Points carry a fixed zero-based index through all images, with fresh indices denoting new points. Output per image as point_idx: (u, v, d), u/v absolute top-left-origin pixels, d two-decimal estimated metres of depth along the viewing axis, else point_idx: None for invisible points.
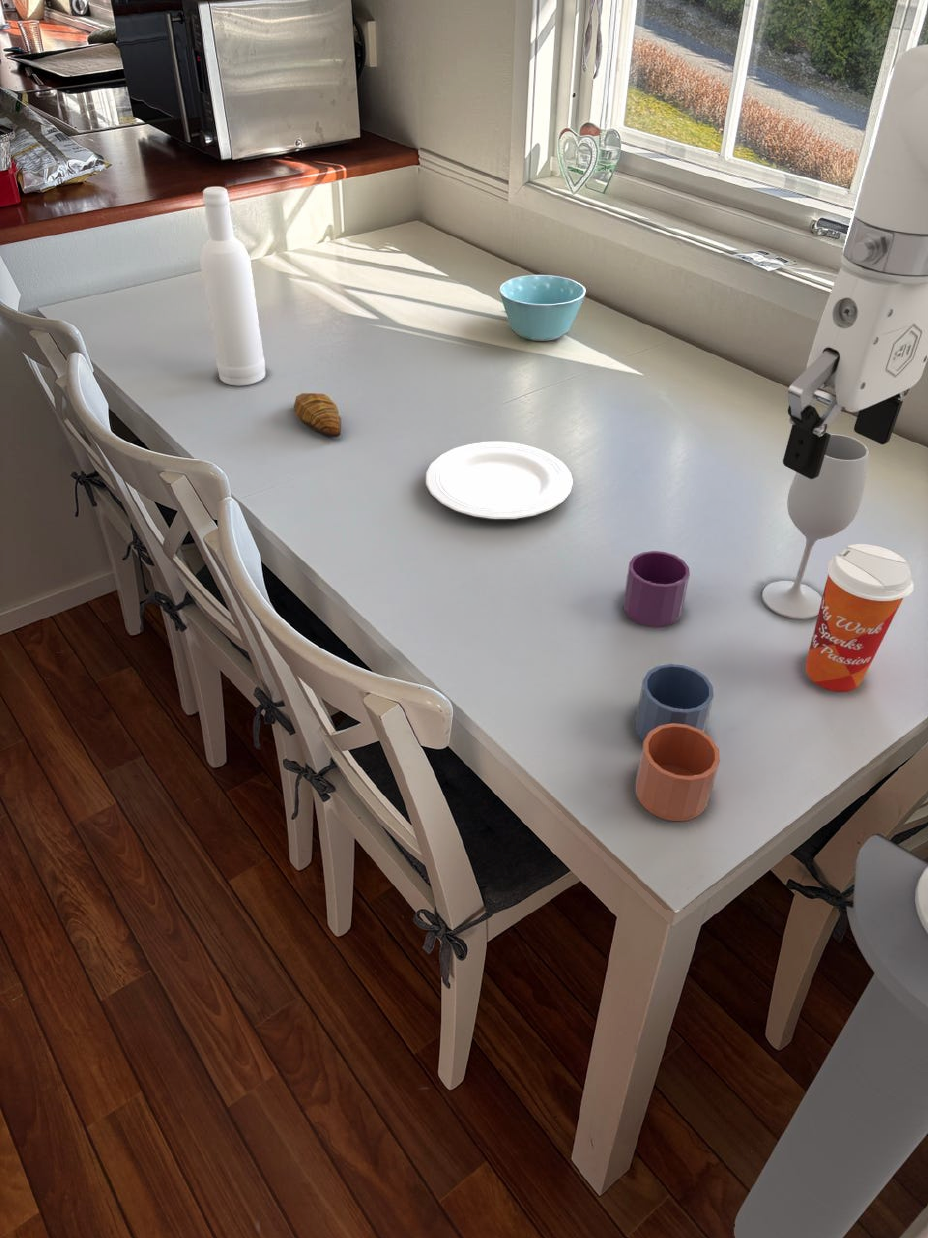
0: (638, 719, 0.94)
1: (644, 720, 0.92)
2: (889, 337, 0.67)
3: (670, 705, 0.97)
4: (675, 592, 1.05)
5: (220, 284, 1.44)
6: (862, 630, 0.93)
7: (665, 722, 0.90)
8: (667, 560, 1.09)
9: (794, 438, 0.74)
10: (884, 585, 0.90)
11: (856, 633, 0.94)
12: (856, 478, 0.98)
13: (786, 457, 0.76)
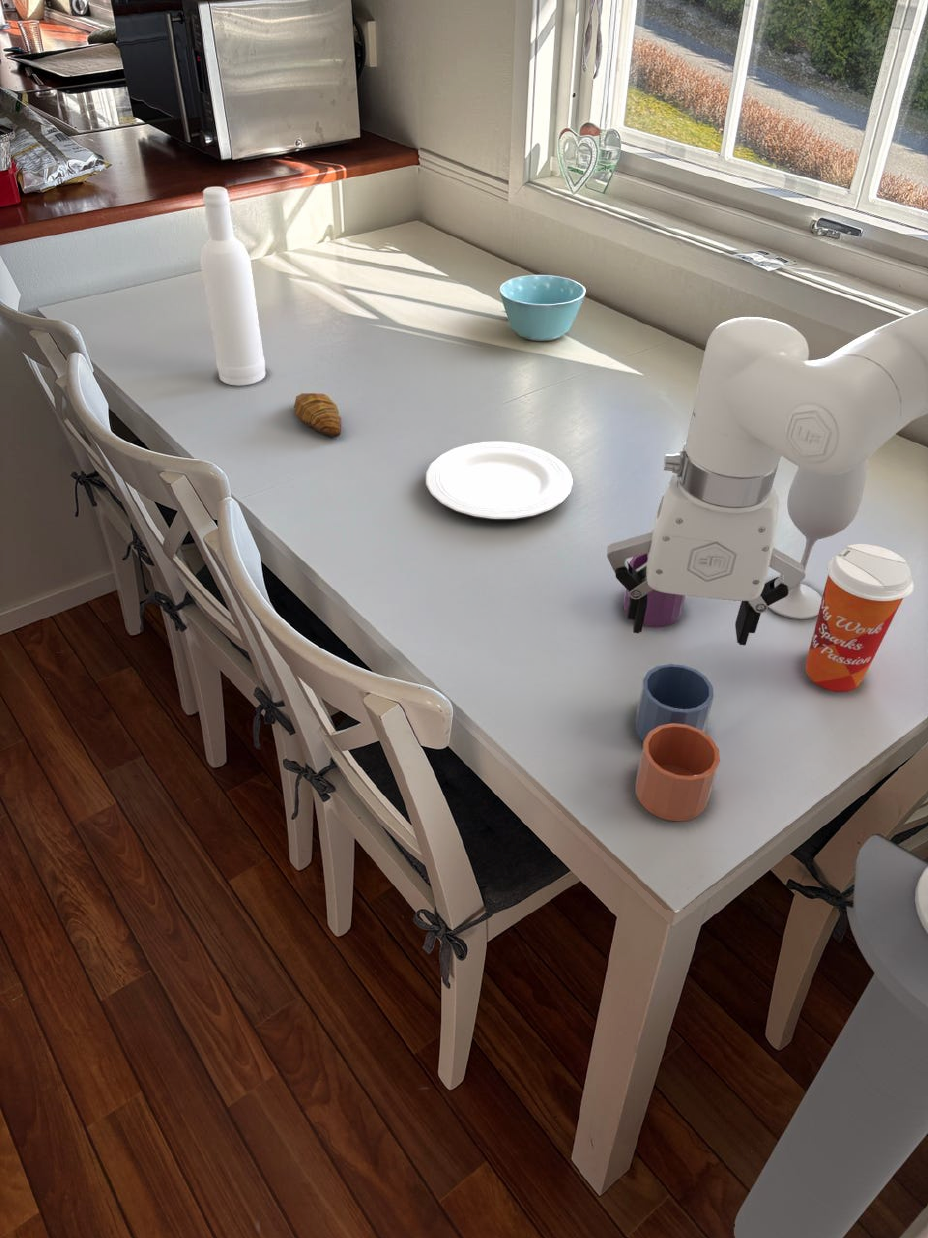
0: (638, 719, 0.94)
1: (644, 720, 0.92)
2: (684, 542, 0.78)
3: (670, 705, 0.97)
4: None
5: (220, 284, 1.44)
6: (862, 630, 0.93)
7: (665, 722, 0.90)
8: None
9: None
10: (884, 585, 0.90)
11: (856, 633, 0.94)
12: (856, 478, 0.98)
13: None
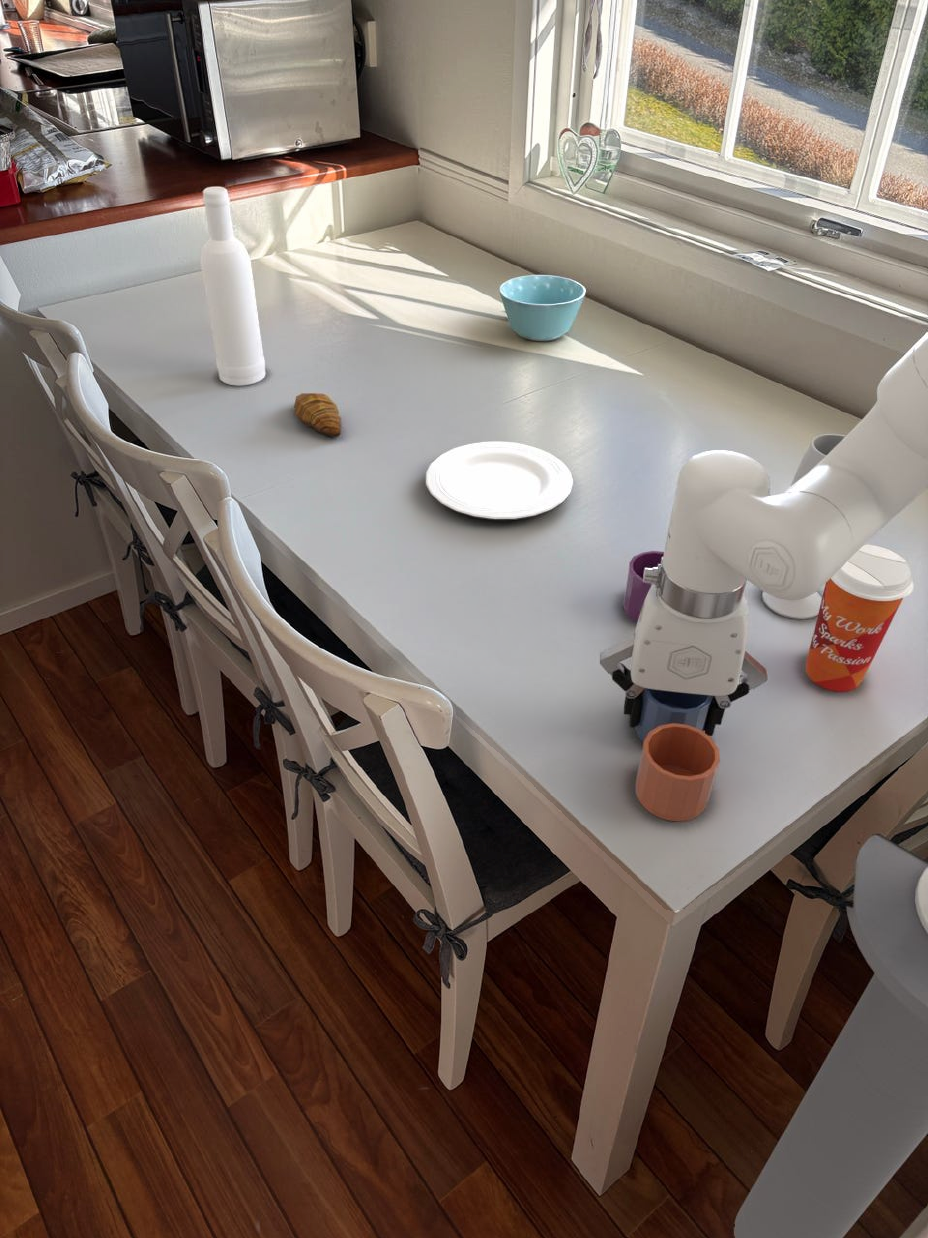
0: (638, 719, 0.94)
1: (644, 720, 0.92)
2: (664, 645, 0.85)
3: (670, 705, 0.97)
4: None
5: (220, 284, 1.44)
6: (862, 630, 0.93)
7: (665, 722, 0.90)
8: None
9: None
10: (883, 585, 0.90)
11: (856, 633, 0.94)
12: None
13: None
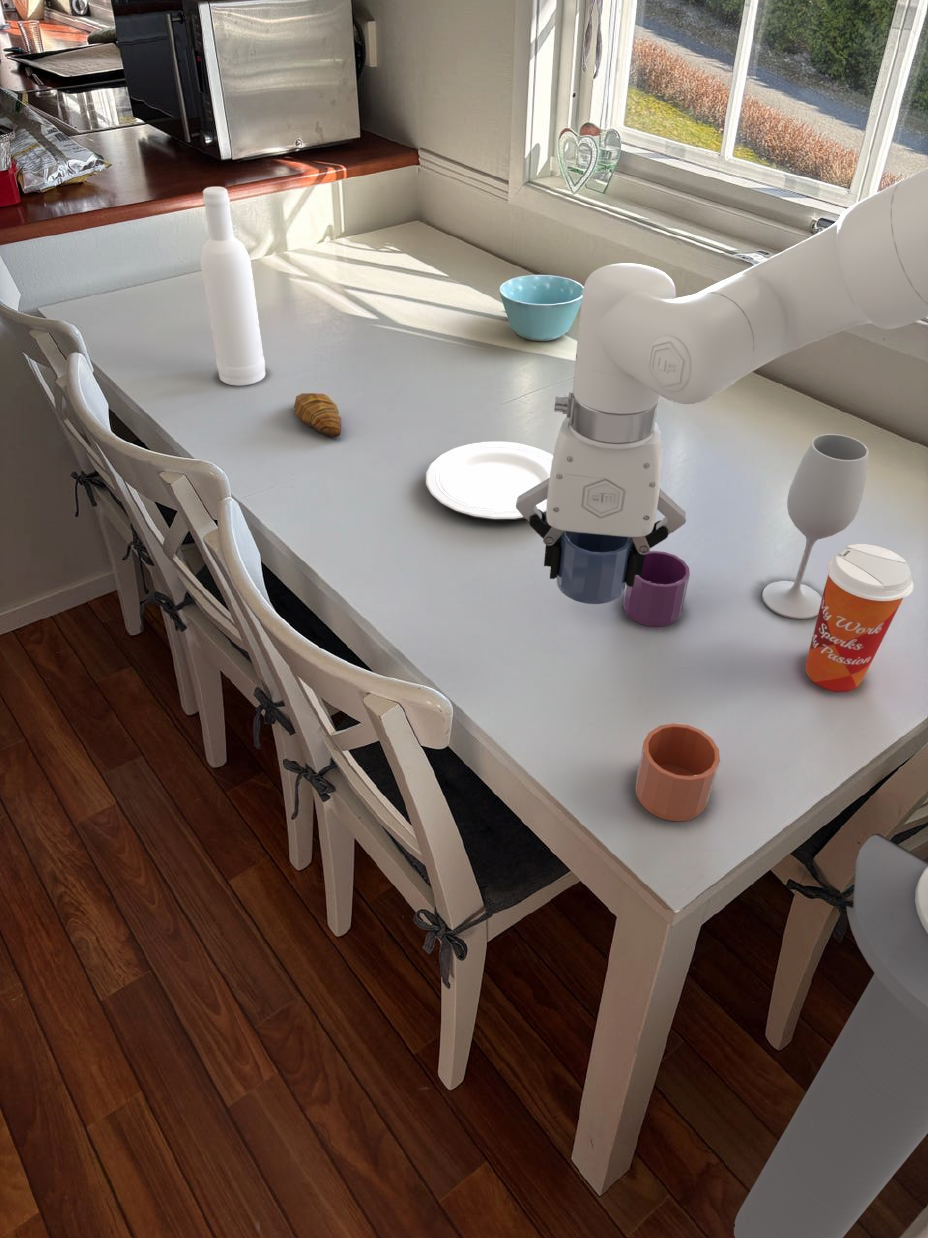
0: (558, 570, 0.92)
1: (563, 568, 0.90)
2: (576, 479, 0.83)
3: None
4: (675, 592, 1.05)
5: (220, 284, 1.44)
6: (862, 630, 0.93)
7: (582, 568, 0.88)
8: (667, 560, 1.09)
9: None
10: (883, 585, 0.90)
11: (856, 633, 0.94)
12: (856, 478, 0.98)
13: None
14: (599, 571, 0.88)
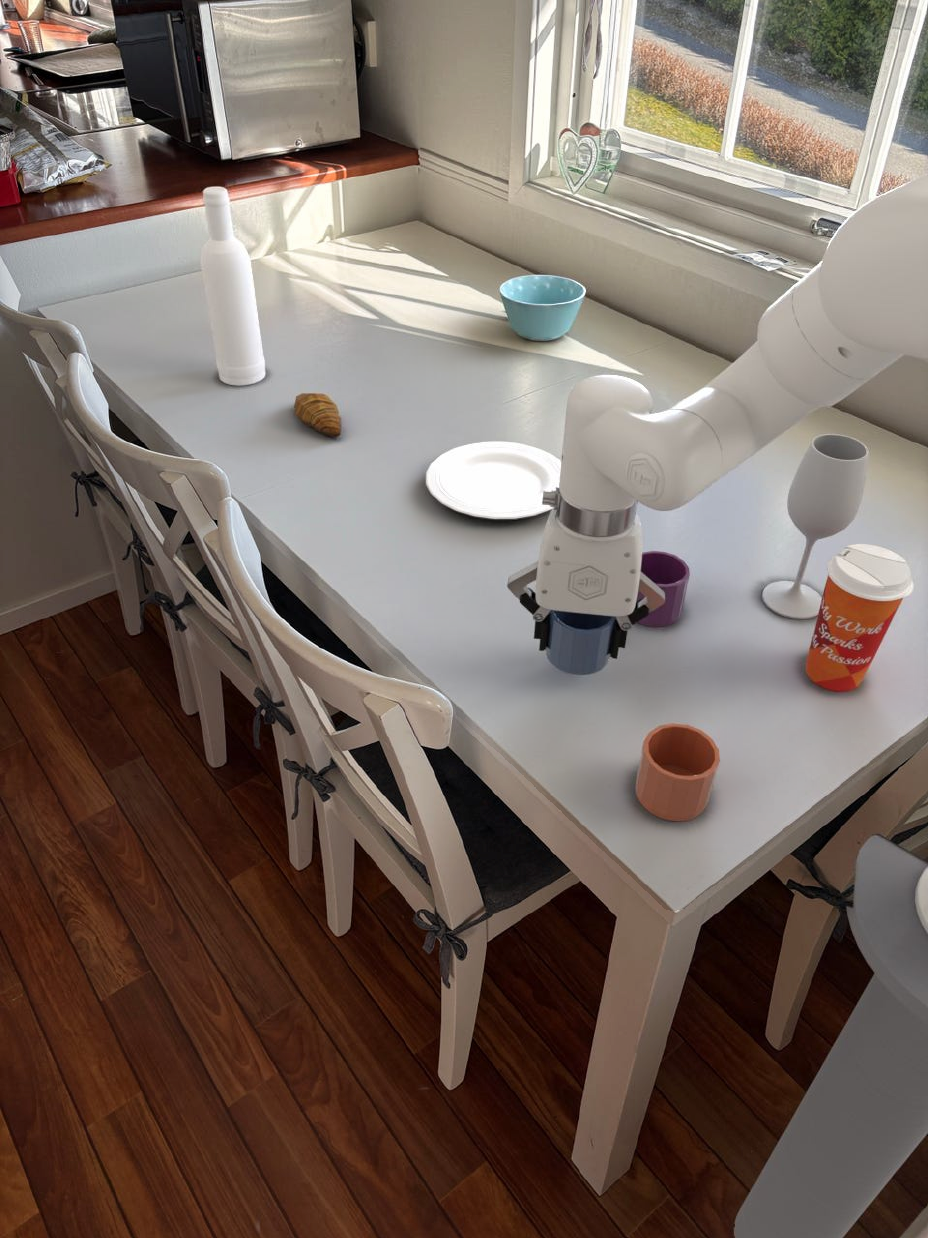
0: (547, 642, 0.98)
1: (551, 642, 0.97)
2: (563, 566, 0.89)
3: None
4: (675, 592, 1.05)
5: (220, 284, 1.44)
6: (862, 630, 0.93)
7: (569, 643, 0.95)
8: (667, 560, 1.09)
9: None
10: (883, 585, 0.90)
11: (856, 633, 0.94)
12: (856, 478, 0.98)
13: None
14: (585, 646, 0.95)
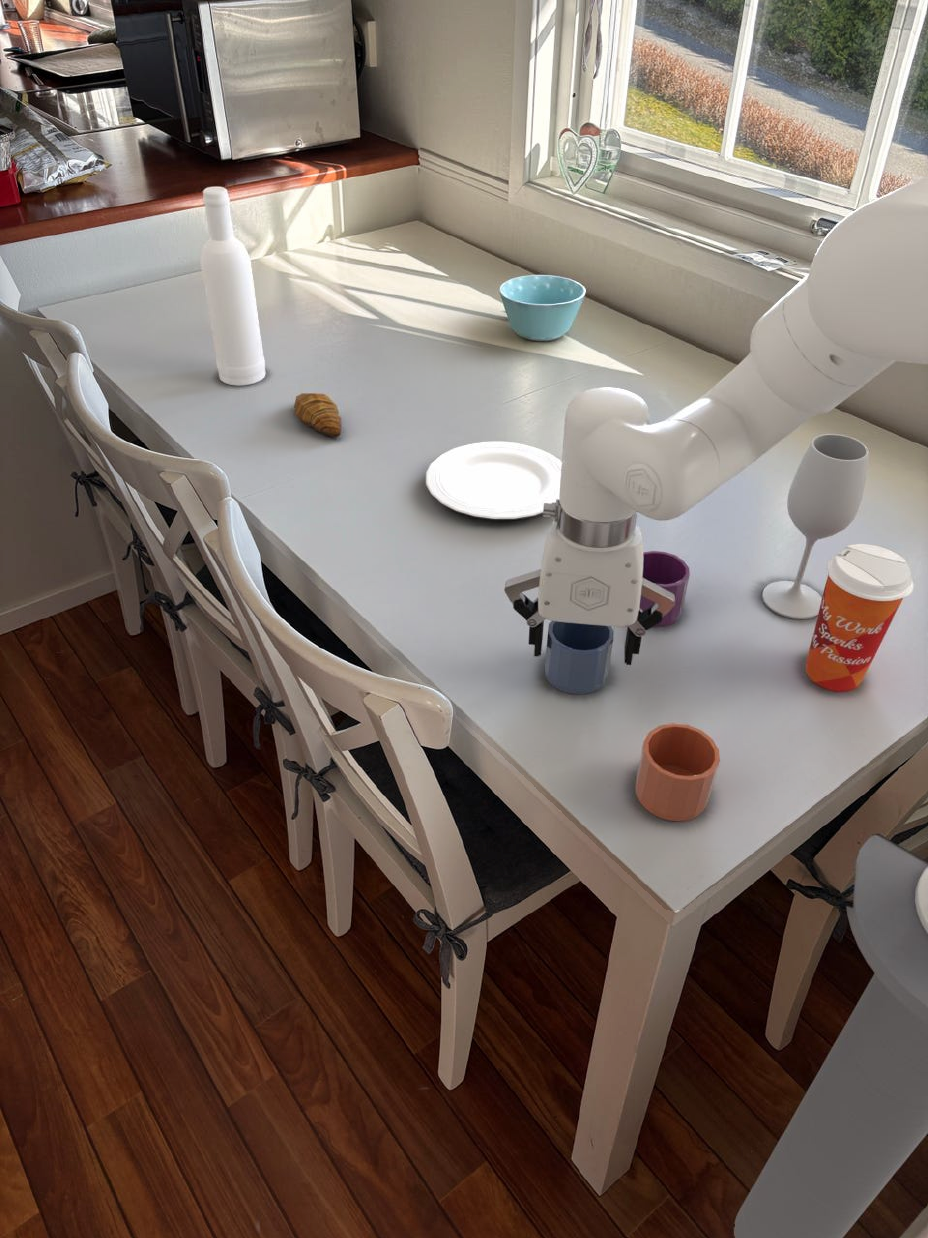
0: (546, 662, 1.00)
1: (550, 662, 0.99)
2: (564, 577, 0.90)
3: None
4: (675, 592, 1.05)
5: (220, 284, 1.44)
6: (862, 630, 0.93)
7: (567, 663, 0.97)
8: (667, 560, 1.09)
9: None
10: (883, 585, 0.90)
11: (856, 633, 0.94)
12: (856, 478, 0.98)
13: None
14: (583, 666, 0.96)
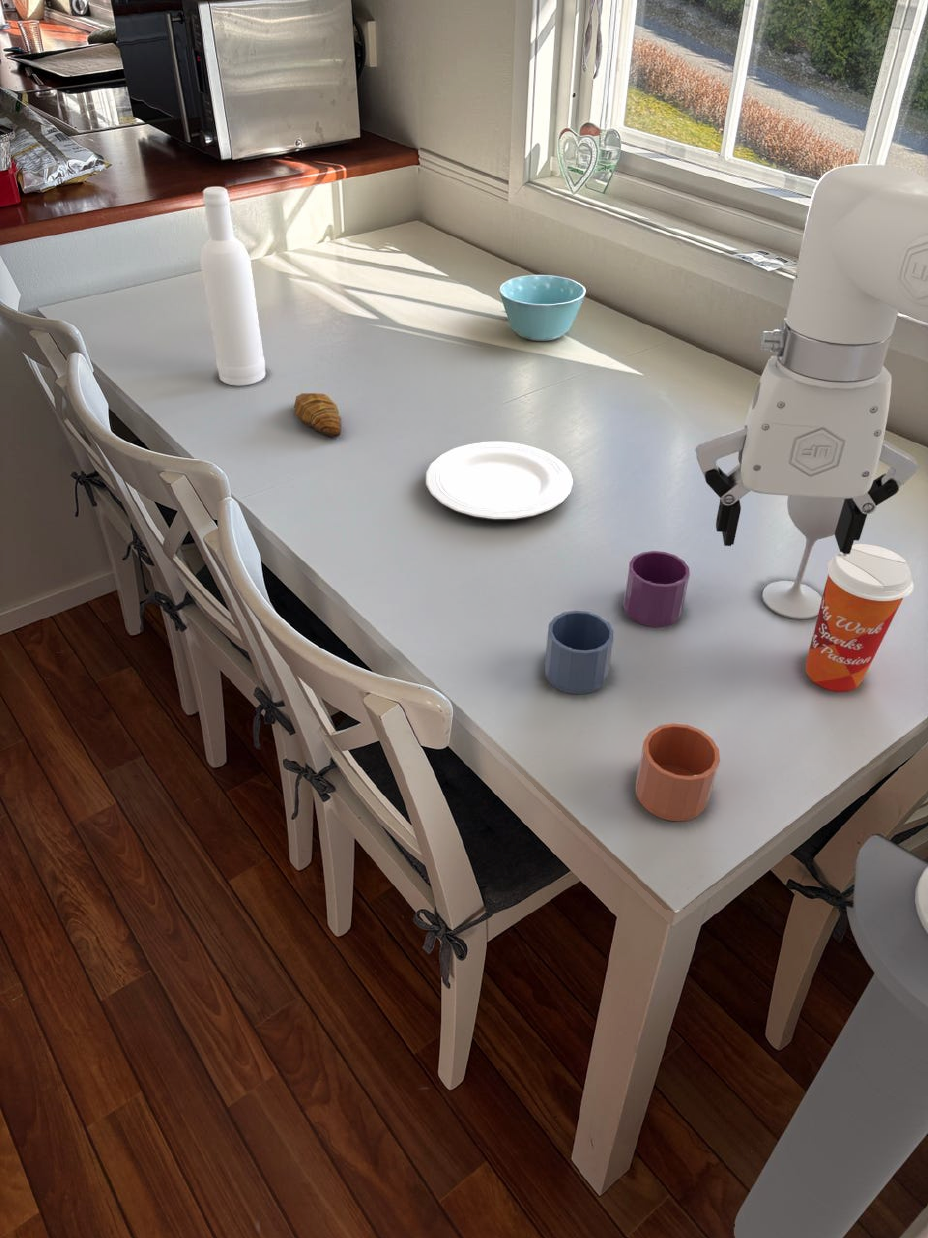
0: (546, 662, 1.00)
1: (550, 662, 0.99)
2: (786, 429, 0.70)
3: None
4: (675, 592, 1.05)
5: (220, 284, 1.44)
6: (862, 630, 0.93)
7: (567, 663, 0.97)
8: (667, 560, 1.09)
9: (720, 502, 0.79)
10: (883, 585, 0.90)
11: (856, 633, 0.94)
12: None
13: None
14: (583, 666, 0.96)
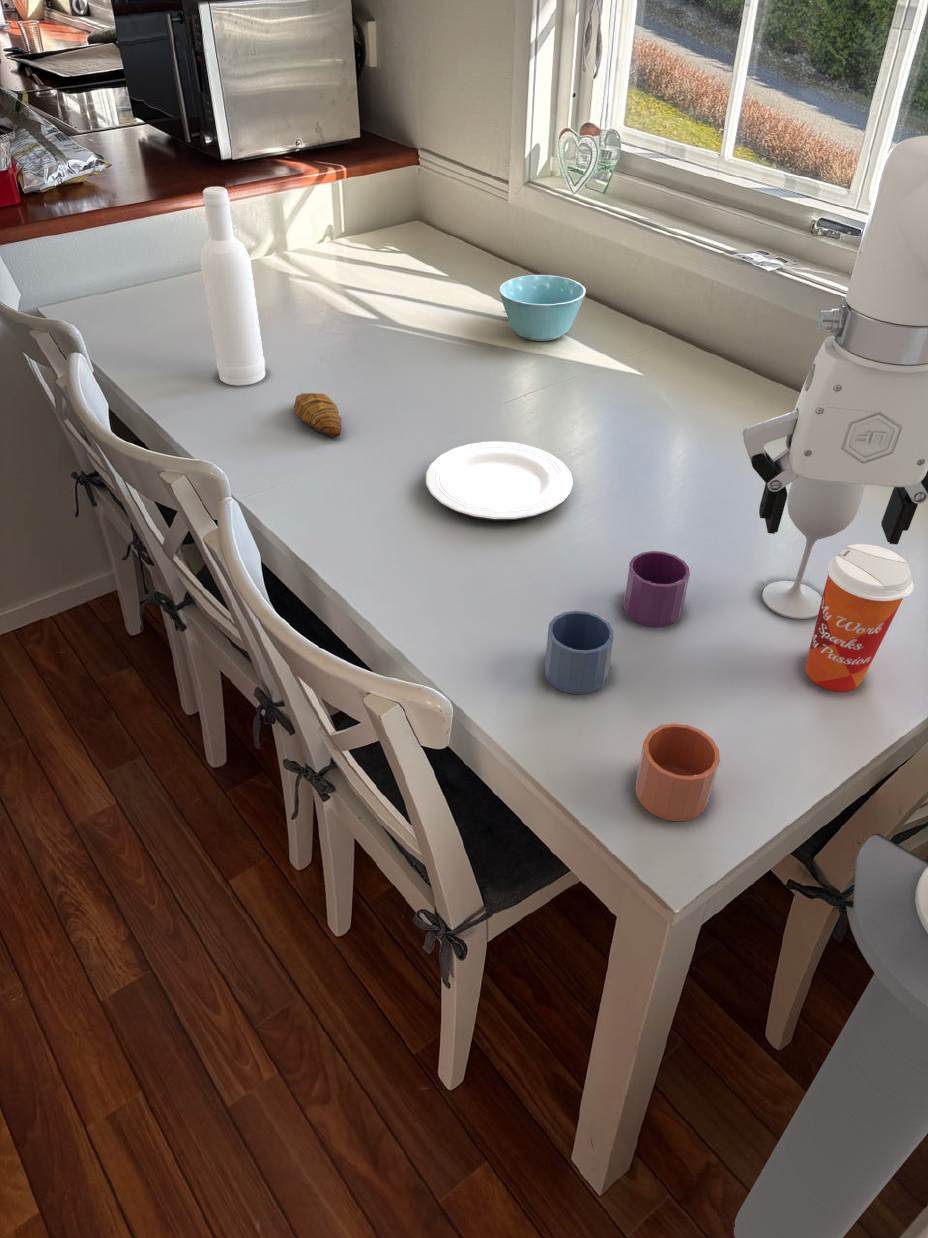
0: (546, 662, 1.00)
1: (550, 662, 0.99)
2: (841, 414, 0.68)
3: None
4: (675, 592, 1.05)
5: (220, 284, 1.44)
6: (862, 630, 0.93)
7: (567, 663, 0.97)
8: (667, 560, 1.09)
9: (764, 488, 0.76)
10: (883, 585, 0.90)
11: (856, 633, 0.94)
12: None
13: None
14: (583, 666, 0.96)
